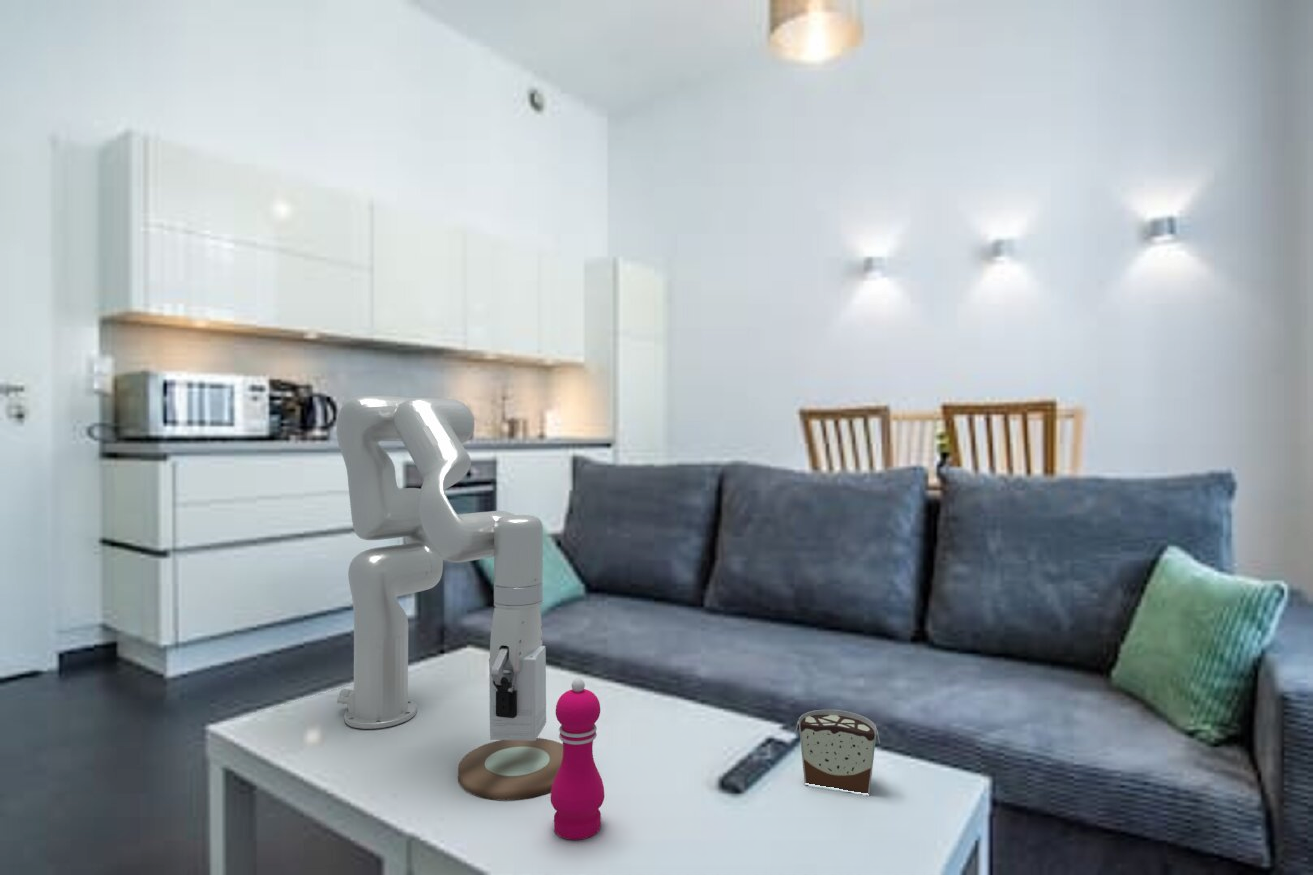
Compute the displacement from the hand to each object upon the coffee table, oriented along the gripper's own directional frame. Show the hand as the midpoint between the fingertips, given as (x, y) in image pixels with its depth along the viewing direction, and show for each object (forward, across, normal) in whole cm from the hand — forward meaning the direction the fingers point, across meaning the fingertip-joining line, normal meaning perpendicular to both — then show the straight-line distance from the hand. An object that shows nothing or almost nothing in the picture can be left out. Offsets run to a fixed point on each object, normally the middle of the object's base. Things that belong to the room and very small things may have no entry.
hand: (518, 705), depth 112 cm
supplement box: (+4, 0, 0) cm, 4 cm away
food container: (+11, -9, +49) cm, 51 cm away
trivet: (+10, 0, 0) cm, 10 cm away
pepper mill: (+11, +13, +14) cm, 22 cm away
